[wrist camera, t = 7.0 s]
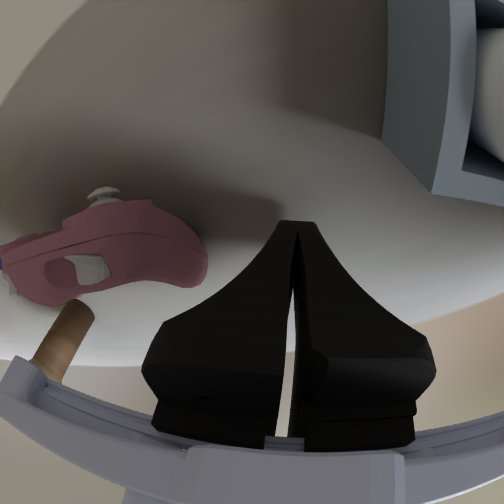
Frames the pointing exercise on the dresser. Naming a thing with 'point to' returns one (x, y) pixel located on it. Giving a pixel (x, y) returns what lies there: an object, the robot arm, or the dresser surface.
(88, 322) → the post
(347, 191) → the dresser surface
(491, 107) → the dome
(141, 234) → the video game controller
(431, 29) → the hollow square tube
